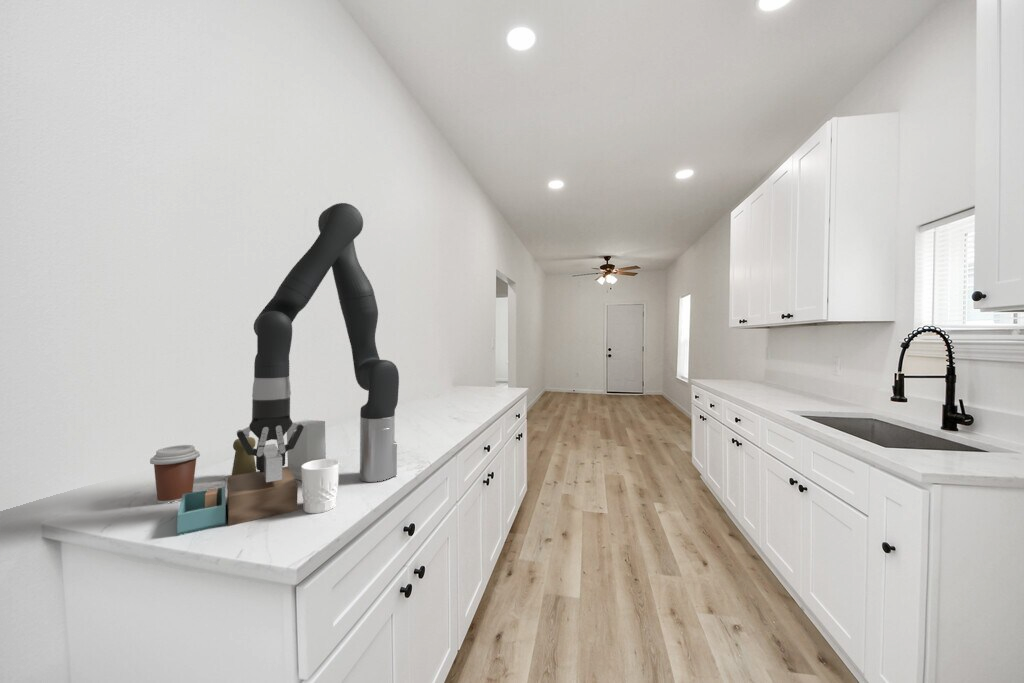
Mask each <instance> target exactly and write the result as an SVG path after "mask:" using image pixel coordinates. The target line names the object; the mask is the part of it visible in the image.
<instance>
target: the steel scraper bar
mask: <svg viewBox="0 0 1024 683" xmlns="http://www.w3.org/2000/svg"><path fill="white" fill-rule="evenodd" d="M263 456H264V472H263V475H264V478H265V481H266V482H271V481H277V480H282V467H283V466H282V455H281V454H280V452H279V449H278V445H277V444H276V443H271V444H265V447H264V451H263Z"/></svg>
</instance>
